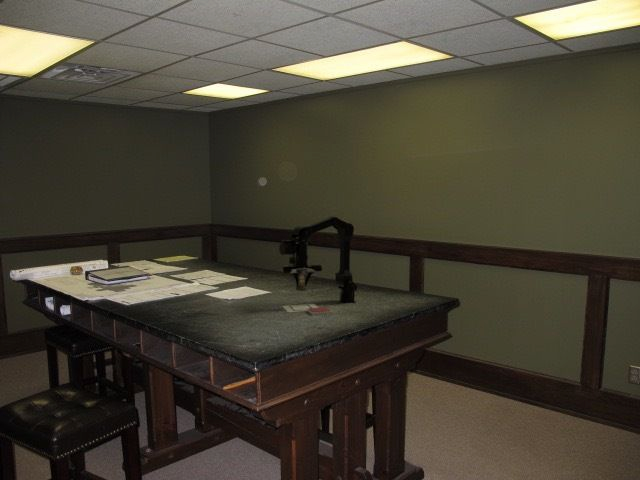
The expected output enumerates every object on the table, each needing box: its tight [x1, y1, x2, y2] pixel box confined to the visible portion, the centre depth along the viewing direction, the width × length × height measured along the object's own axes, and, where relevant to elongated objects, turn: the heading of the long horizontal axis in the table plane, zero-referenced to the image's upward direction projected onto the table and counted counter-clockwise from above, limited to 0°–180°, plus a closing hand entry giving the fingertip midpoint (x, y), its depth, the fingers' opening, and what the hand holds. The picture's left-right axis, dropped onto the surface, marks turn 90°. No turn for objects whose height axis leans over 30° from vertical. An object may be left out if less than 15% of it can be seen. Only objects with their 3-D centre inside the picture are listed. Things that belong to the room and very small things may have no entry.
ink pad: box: [306, 306, 334, 316], centre depth 233 cm, size 10×8×2 cm
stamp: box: [295, 273, 308, 292], centre depth 239 cm, size 5×5×8 cm
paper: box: [281, 303, 320, 314], centre depth 240 cm, size 16×12×1 cm
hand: (301, 286), depth 239 cm, fingers closed on stamp, 4 cm apart
